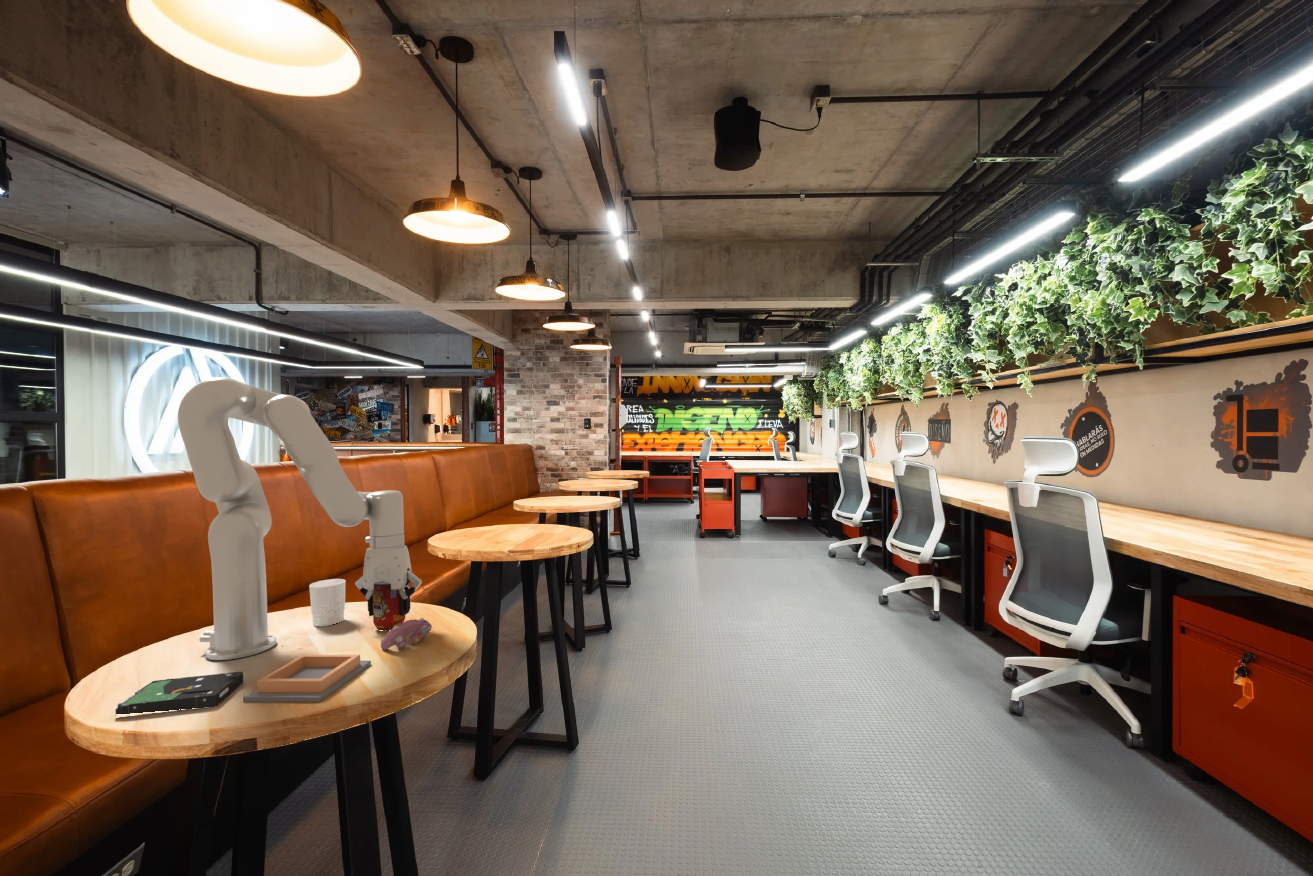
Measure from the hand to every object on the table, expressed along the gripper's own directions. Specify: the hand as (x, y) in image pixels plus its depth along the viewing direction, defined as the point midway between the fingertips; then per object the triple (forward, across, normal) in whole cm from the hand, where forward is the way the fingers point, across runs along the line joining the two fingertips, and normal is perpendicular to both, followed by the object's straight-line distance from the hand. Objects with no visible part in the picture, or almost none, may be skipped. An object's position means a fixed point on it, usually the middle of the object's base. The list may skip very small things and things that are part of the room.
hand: (389, 613), depth 137 cm
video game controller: (+4, +10, -12) cm, 16 cm away
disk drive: (+4, -18, -37) cm, 41 cm away
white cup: (+4, -18, +4) cm, 19 cm away
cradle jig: (+3, +1, -30) cm, 30 cm away
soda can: (+3, 0, 0) cm, 3 cm away
